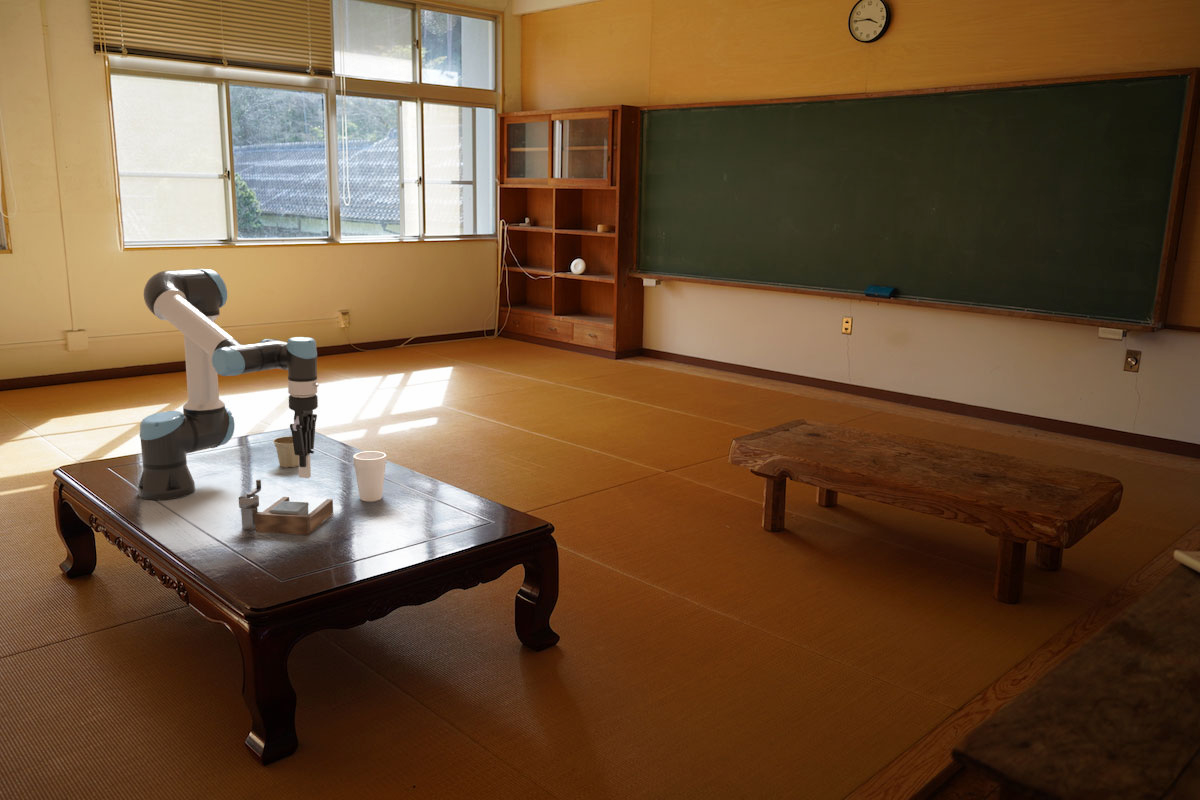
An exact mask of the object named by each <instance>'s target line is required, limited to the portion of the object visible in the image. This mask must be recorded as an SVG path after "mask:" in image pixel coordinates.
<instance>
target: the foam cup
mask: <svg viewBox="0 0 1200 800" xmlns="http://www.w3.org/2000/svg"><path fill="white" fill-rule="evenodd" d="M352 457H353V460H352V461H353V466H354V471H355V477H356V484H357V489H358V496H359V498H360V500H361V501H363V502H377V501H380V500H382V498H383V493H384V492H383V491H384V483H385V472H386V464H387V453H385V452H382V451H378V450H377V451H375V450H374V451H373V450H372V451H370V450H369V451H368V450H367V451H361V452H357V453H355V454H353V456H352Z"/></svg>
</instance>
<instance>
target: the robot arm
mask: <svg viewBox="0 0 1200 800" xmlns="http://www.w3.org/2000/svg"><path fill="white" fill-rule="evenodd" d="M143 298H144V299H143V301H144V303H145V304H146V307H147V309H148V310H149V311H150V312H151V313H152V314H153V315H154V316H155V317H157V318H158V319H159V320H162V321H167V322H168V323H169V324H171V325H173V326H174V327H175V328H176V329H177V330H178V331H179V332H180V333H181V334H183V341H184V342H183V343H184V356H185V371H186V373H185V374H186V386H187V388H186V389H187V390H186V391H187V401H186V402H185V403H184V404H183V406H182V409H183V411H182V412H183V413H182V412H181V411H178V410H167V411H160V412H156V413H153V414H149V415H147V416H146V417H144V418H142V420H141V422H140V424H139V438H140V447H141V449H140V450H141V458H142V473H141V476H140V480H139V483H138V486H137V488H138V489H137V490H138V491H137V492H138V497H140V498H141V499H145V500H150V501H164V500H173V499H178V498H183V497H186V496H188V495H191V494H192V493H195V491H196V484H195V480H194V478H193V475H192V473H191V471H190V469H189V466H188V461H187V454H192V453H195V452H200V451H204V450H208V449H215V448H218V447H220V446H224V445H225V444H227V443H228V442H230V440H232V437H233V435H234V432H235V419H234V416H233V414H232V413H233V412H231V410H230V409H228V408H227V407H226V404H225V402H223V401H222V400H221V399H220V394H219V393H220V391H219V377H218V375H220V376H222V377H228V376H229V377H231V376H233V377H234V376H239V375H245V374H249V373H250V374H251V373H256V372H262V371H269V370H275V369H280V370H285V371H287V374H288V375H287V385H288V386H287V393H288V394H289V395H288V408H289V409H290V410H292V411H294V413H293V414H294V415H293V423H290V424H289V430H290V432H291V436H292V438H293V446H294V453H295V455H299V465H298V478H303V479H309V478H311V477H312V475H311V471H312V470H311V466H312V465H311V454H313V455H314V453H315V451H314V448H315V437H316V436H315V435H316V434H315V433H316V424H317V419H318V418H317V417H318V415H317V413H314V410H316V409H318V407H319V405H318V404H319V403H318V401H319V397H318V394H317V393H318V388H319V386H320V385H319V383H318V350H317V342H316V340H315V339H314V338H313V337H307V336H305V337H304V336H294V337H290V338H288V339H287V341H282V340H279V339H276V338H272V339H271V338H265V339H262V340H261V341H260V342H258V343H249V344H242V343H240V341H238V340H237V339H236V338H234V337H233V336H232V335H230V334H229V333H228V332H227V331H225V330H224V329H223V328H222V327H220V326H219V325H218V324H217V323H215V320H217V319H218V318H219V316H220V308H223V306H225V305H226V302H227V300H228V289H227V286H226V283H225V281H224V279H223V278H222V276H220V274H219V272H217V271H215V270H213V269H208V268H206V269H205V268H190V269H176V270H163V271H162V270H161V271H159V272H157V273H155V274H153V275H152V276H151V277H150V278H149V279H148V280H147V282H146V283H145V285H144V288H143Z"/></svg>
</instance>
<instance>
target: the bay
mask: <svg viewBox="0 0 1200 800" xmlns="http://www.w3.org/2000/svg"><path fill="white" fill-rule="evenodd" d="M282 501H290V497H289V496H282V497H281V498H280V499H279V500H277V501H276V502H274V503H273V504H271V505H270V506H269V507H267V508H266V509H264V510H263V511H258V512H257V513H255V529H254V530H255V533H264V534H283V535H284V534H285V535H287V534H288V535H301V536H302V535H303V536H308V535H310V534H311V533H312V532H313V531H315V528H316V529H317V528H318V527H319V526H321V524H323V521H324V520H325V519H326V518H327V519H328V518H329V517H330V516H332V515H333V514H334V503H333V502H334V500H333V499H332V498H330V499H329V498H326V499H325V500H324V501H323V502H322V503H320V504H319V505H318V506H317V507H316V508H314V509H313V510H312V511H311V512H309V513H308V515H303V514H285V513H271V509H273V508H274V507H275V506H277V505H278V504H279V503H281V502H282ZM332 513H333V514H332ZM327 519H326V520H327ZM326 520H325V521H326ZM325 521H324V522H325Z"/></svg>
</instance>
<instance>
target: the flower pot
mask: <svg viewBox="0 0 1200 800" xmlns="http://www.w3.org/2000/svg"><path fill="white" fill-rule="evenodd" d="M272 442H273V444H274V447H275V449H276V453H277V459H278V463H279V467H281V468H286V469H287V468H296V467H299V455H295V453H294V446H293V438H292V435H290V436H280V437H276V438H275V439H273V440H272Z"/></svg>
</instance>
